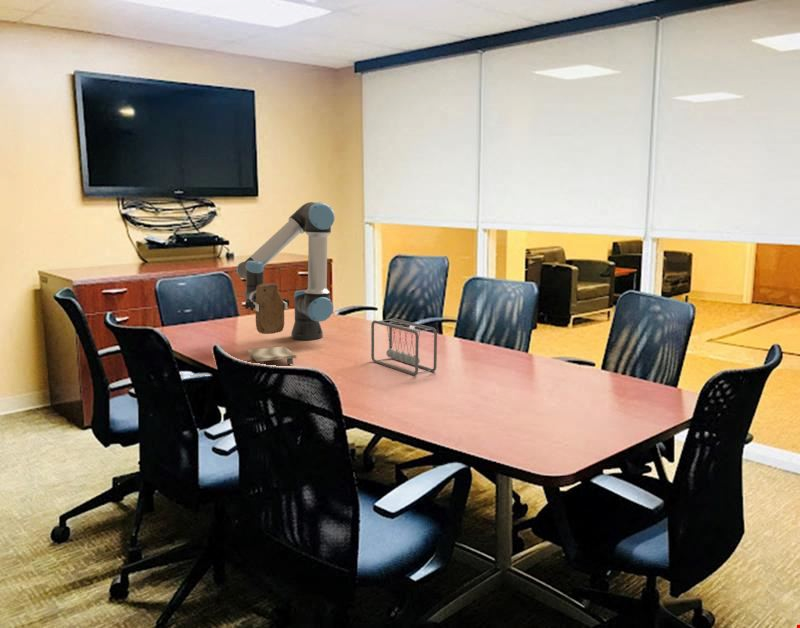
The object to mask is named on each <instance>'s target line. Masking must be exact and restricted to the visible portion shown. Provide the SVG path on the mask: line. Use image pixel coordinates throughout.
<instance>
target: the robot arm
mask: <svg viewBox="0 0 800 628" xmlns="http://www.w3.org/2000/svg"><path fill="white" fill-rule="evenodd" d="M335 218H336V217H335V212H334V210H333V208H332V207H331V206H329V205H328V204H327V203H324V202H312V201H311V202H306V203H304V204H302V205H301V206H300V207H299V208H298V209H297V210H296V211H295V212H293V213H292V215H290V216H289V218H288V220H287V222H286V223H285V224H284V225H283V226H281V228H279V229H278V231H277V232H275V233H274V234H273V235H272V236H271V237H270V238H269V239H268V240H267V241H265V243H263V244H262V245H261V246H260V247H259V248H258V249H257V250H256V251H254V252H253V253H252V254H251V255H250V256H249V257H248V258H246V260H245V261H242V262H240V263H238V264H237V266H236V274H237V275H238V276H239V278H241V279H243V280H245V282H246V283H245V285H246V287H245V291H244V298H245V305H244V306H245V309H246V310H248V309H250V311H255V312H256V311H259V304H257V303H256V292H257V291H256V287H257V285H260V284H264V279H265V278H264V271H265V268H264V267H265V266H266V265H267V264H268V263H269V262H270V261H272V260H273V259H274V258H275V257H276V256H277V255H278V254H279V253H280V252H281V251H282V250H283V249H285V248H286V247H287V246H288V245H289V244H290V243H291V242H292V241H293V240H294V239H296V238H297V236H299V235H300V234H304V233H306V235H307V236H308V243H307V244H308V245H307V246H308V253H307V256H308V257H307V258H308V260H307V261H308V262H307V263H308V264H307V266H308V268H307V275H308V276H307V289H306V290H305V289H304V290H303V289H302V290H296V291H295V292H294V294H293V295H294V296H293V303H294V324H293V326H292V330H291V332H290V333H291V334H290V335H291V336H290V337H291V339H294V340H299V341H314V340H319V339H322V338H324V337H323V336H324V335H323V329H322V326H321V324H320V323H321V322H325V321H327V320H328V319H330V317H331V316H332V315H333V311H334V304H333V303H332V301H331V291H330V290H329V289H328V288H327V287H328V286H327V284H328V283H327V281H328V277H327V276H328V237H329V235H330V234H331V232H332V231H331V230H332V226H333V225H334V222H335ZM282 300H283V302H284V311H285V310H286V311H288V308H289V307H290V300H289V299H286V298H282Z"/></svg>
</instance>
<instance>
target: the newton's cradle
mask: <svg viewBox="0 0 800 628" xmlns="http://www.w3.org/2000/svg"><path fill="white" fill-rule="evenodd" d="M387 321H389V322H387ZM375 324H377V325H381V326H383V327H384V326H385V327H386V328H387V330H388V332H387V335H388V341H389V343H388V344H389V345H388V348H389V349H387V350H386V356H387V357H388V358H384V359H375ZM399 324H400V325H399ZM404 325H406V327H405V326H404ZM409 326H410V327H412V328H410V327H409ZM417 328H418V329H419V330H417ZM395 330H399V331H398V332H399V336H401V334H402V333H401V331H404V332H405V337H407V334H408V332H409V333H410V336H411V338H413V336H414V335H415V348H413V350H412V351H413V352H414V354H413V355H412V354H411V353H406V352H405V351H400V350H399V347H400V346H401V349H405V347H406V348H407V350H406V351H411V347H412V346H410V347H409V348H410V349H409V348H408V346H406V345H404V347H402V344H398V345H397V344H396V341H395V339H396V337H395V333H396V331H395ZM424 331H432V332H433V368H431V367H428V366H424V365H421V364H420V356H419V340H420V339H419V338H420V335H419V334H421V332H424ZM370 332H371V334H370V335H371V341H370V342H371V344H370V347H371V349H370V350H371V353H370V357H371V360H372V362H373V361H374V362H373V363H375V362H377V363H376V364H378V363H380V364H379V365H381V364H383V365H382V366H384V365H385V367H387V366H388V367H387V368H390V367H391V368H390V369H393V368H394V369H393V370H396V369H397V371H399V370H400V371H399V372H402V373H404V374H408V375H412V376H417V375H419V374H422V373H423V374H424V373H427V372H428V373H429V372H433V373H434V372H435V371H436V370H437V365H438V363H437V361H438V359H437V358H438V357H437V356H438V355H437V353H438V352H437V351H438V332H437V329H436V328H435V327H432V326H427V325H423V324H420V323H415V322H411V321H407V320H403V319H398V318H395V317H392V318H390V319H383V320H375V319H374V320H373V321H372V322H371V330H370ZM398 339H399V342H402V341H401V340H402V338H401V337H399V338H398ZM393 341H394V342H393ZM413 342H414V341H413V340H411V343H410V345H414V343H413ZM393 343H394V344H395V346H397V348H395V349H394V348H393ZM404 343H405V344H408V341H407V339H405V341H404ZM393 359H395V360H394V361H396V360H398V361H397V362H400V361H401V363H403V362H404V363H403V364H406V363H407V364H406V365H409V364H410V366H412V365H413V367H415V368H414V369H415V371H414V372H413V371H410V370H407V369H406V368H401V367H398V366H396V365H392V364H389V363H386V362H383V361H386V360H393ZM381 360H382V361H381ZM418 367H419V368H418ZM419 369H422V370H425V371H419Z"/></svg>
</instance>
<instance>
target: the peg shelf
mask: <svg viewBox="0 0 800 628" xmlns="http://www.w3.org/2000/svg"><path fill="white" fill-rule="evenodd" d="M247 353H248V355H250V361H251V360H252V361H254V362H257V364H258V363H260V364H264V365H265V362H268V361H275V360H276V361H277V360H286V365H287V364H293V365H294V359H296V358H297V354H295V353H294V352H293V351H292V350H290V349H289V348H288V347H286V346H277V347H275V346H274V347H265V348H263V347H262V348H254V349H253V348H252V349H247ZM255 360H256V361H255ZM252 361H251V362H252Z"/></svg>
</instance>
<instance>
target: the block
mask: <svg viewBox="0 0 800 628" xmlns="http://www.w3.org/2000/svg"><path fill="white" fill-rule="evenodd" d="M278 289H279V286H278V284H277V283H263V284H260V285H257V287H256V291H257V292H256V303H257V304H259V311H256V310H255V326H256V331H257V332H258V333H259V334H262V335H273V334H276V333H281V332H282V331H283V330H284V328H285V309H284V302H283V300H282V299H283V298H282V296H281V293H280V292H279V290H278Z"/></svg>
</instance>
